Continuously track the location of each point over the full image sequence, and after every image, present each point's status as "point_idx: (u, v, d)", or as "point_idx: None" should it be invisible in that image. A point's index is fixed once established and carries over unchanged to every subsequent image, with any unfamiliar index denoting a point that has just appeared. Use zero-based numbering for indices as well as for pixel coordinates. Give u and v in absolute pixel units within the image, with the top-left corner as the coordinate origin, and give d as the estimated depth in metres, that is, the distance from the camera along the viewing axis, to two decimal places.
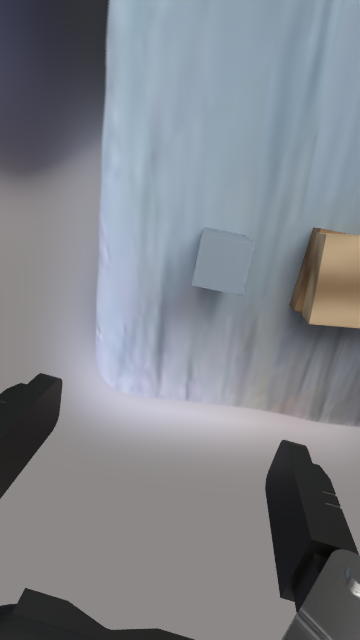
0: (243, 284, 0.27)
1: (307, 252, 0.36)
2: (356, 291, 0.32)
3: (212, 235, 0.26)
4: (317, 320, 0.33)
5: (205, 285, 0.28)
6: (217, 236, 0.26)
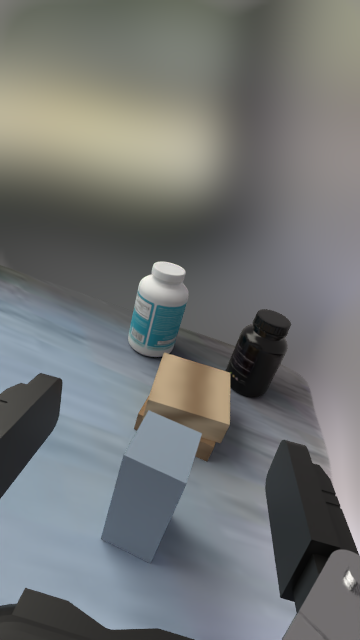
0: (189, 430, 0.25)
1: None
2: (199, 390, 0.37)
3: (130, 445, 0.22)
4: (225, 418, 0.35)
5: (187, 467, 0.22)
6: (132, 440, 0.23)
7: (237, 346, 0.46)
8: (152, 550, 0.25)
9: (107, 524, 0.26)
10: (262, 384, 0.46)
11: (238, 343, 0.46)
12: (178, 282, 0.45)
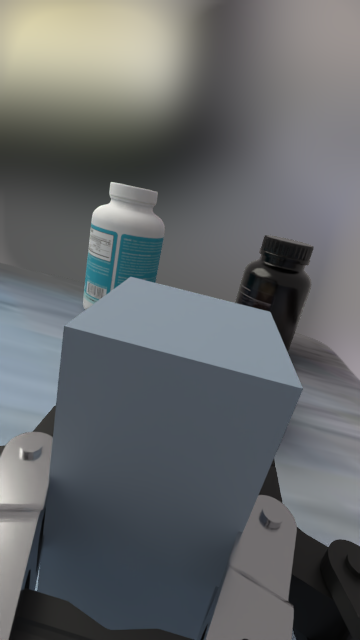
0: (239, 306, 0.10)
1: None
2: None
3: (87, 312, 0.07)
4: None
5: (279, 356, 0.07)
6: (94, 307, 0.07)
7: (241, 290, 0.33)
8: None
9: None
10: (284, 339, 0.32)
11: (242, 285, 0.33)
12: (149, 202, 0.31)
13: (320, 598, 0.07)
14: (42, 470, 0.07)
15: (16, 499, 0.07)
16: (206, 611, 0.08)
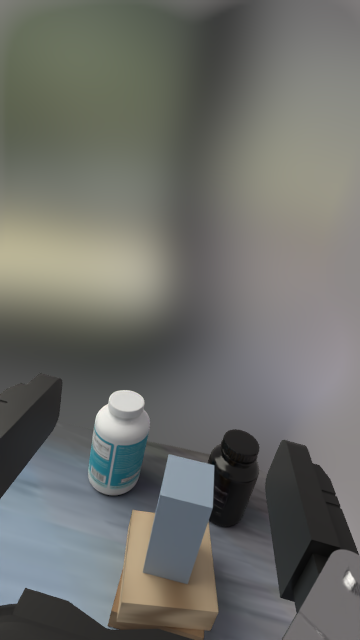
0: (204, 464, 0.31)
1: None
2: None
3: (163, 486, 0.28)
4: (212, 602, 0.30)
5: (210, 494, 0.28)
6: (163, 482, 0.28)
7: None
8: (189, 571, 0.30)
9: (148, 557, 0.30)
10: (238, 512, 0.43)
11: None
12: (138, 416, 0.42)
13: None
14: None
15: None
16: None
